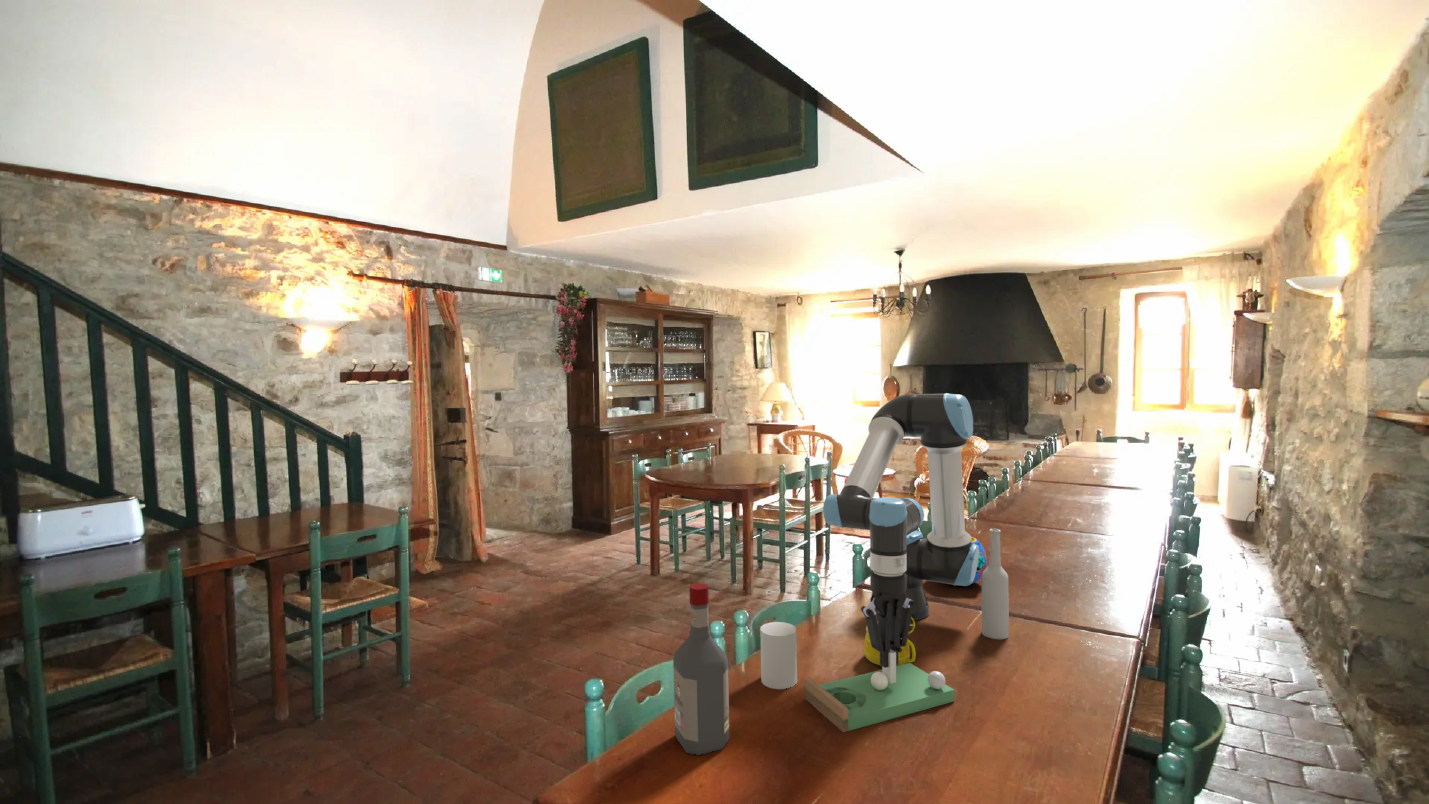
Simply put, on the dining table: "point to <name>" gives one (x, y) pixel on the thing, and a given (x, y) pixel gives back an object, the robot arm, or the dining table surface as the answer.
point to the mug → (902, 656)
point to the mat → (875, 698)
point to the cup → (778, 655)
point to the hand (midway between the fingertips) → (889, 680)
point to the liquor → (701, 683)
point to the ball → (879, 680)
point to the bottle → (995, 593)
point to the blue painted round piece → (979, 560)
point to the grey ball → (936, 680)
